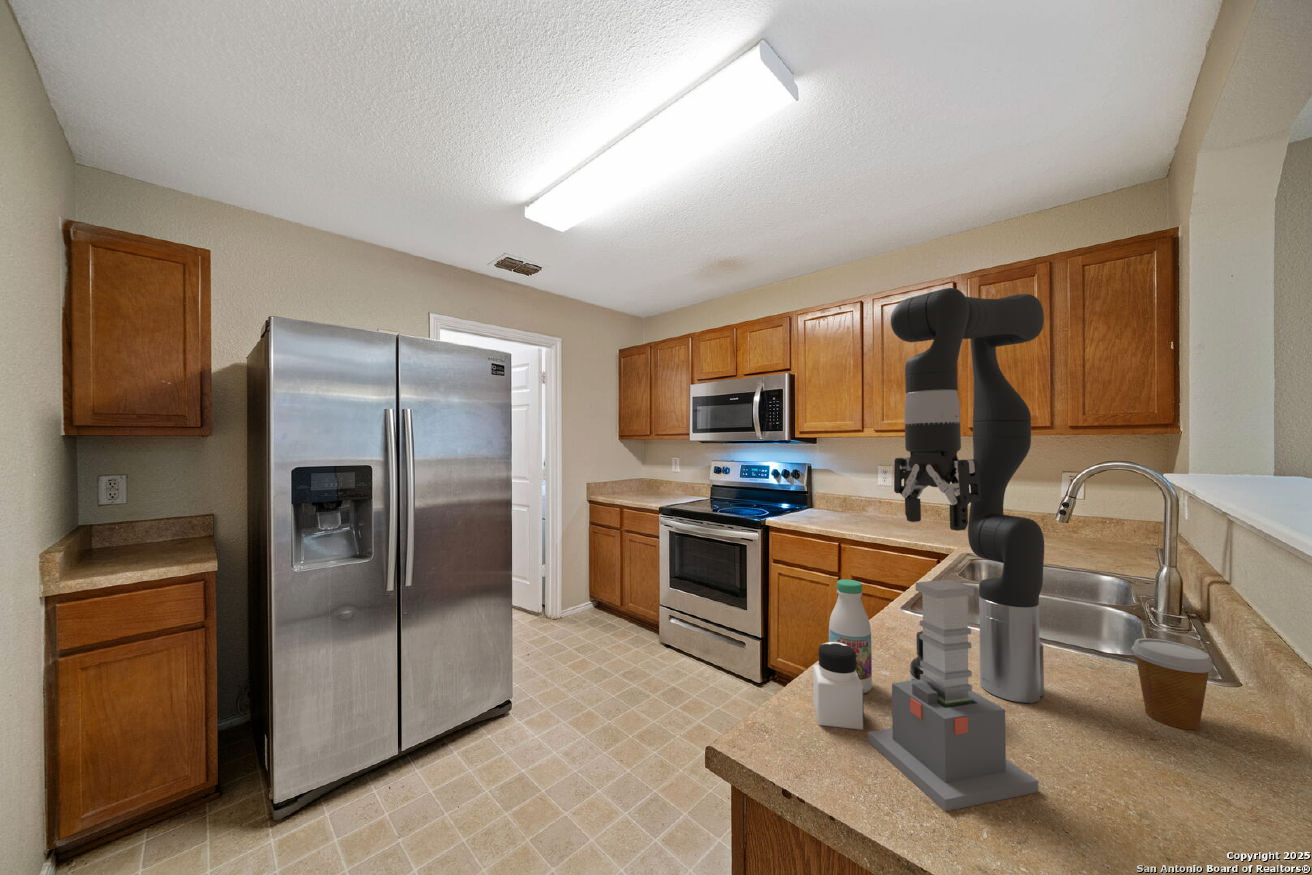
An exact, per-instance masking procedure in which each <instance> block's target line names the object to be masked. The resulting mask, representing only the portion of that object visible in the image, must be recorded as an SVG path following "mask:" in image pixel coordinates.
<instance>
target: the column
mask: <svg viewBox="0 0 1312 875" xmlns="http://www.w3.org/2000/svg"><path fill="white" fill-rule="evenodd" d="M915 591H916V592H918V593H922V594H921V595H922V619H921V620H919V626H920V627H922V631H923V634H920V639H921V640H923V661H920V666H922V667H923V674H920V679H921V680H923V684H925V685H926V686H928V687H929V688H931V689H933V690H934V691H936V692H937V693H938V704H940V705H941V706H943V707H944V708H949V707H956V706H962V705H969V704H972V699H970V698H969V693H968V691H973V685H972V684H970V683H969V678H970V677H972V676H973V674H972V673H973V672H972V670H970V669H969V649H972V643H971V642H969V635H972V628H971V627H969V626H968V621H969V620H968V618H969V616H968V615H969V614H968V613H969V612H968V597H973V596H975V586H971V585H968V584H965V583H963V582H959V581H956V580H953V579H944V580H943V579H942V580H929V581H918V582H916V581H915Z"/></svg>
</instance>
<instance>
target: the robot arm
mask: <svg viewBox="0 0 1312 875" xmlns="http://www.w3.org/2000/svg"><path fill="white" fill-rule="evenodd" d="M1044 314H1045V313H1044V309H1043V305H1042V303H1041V301H1040V299H1039V298H1038V297H1037V296H1035V295H1033V294H1029V293H1019V294H1013V295H1009V296H1004V297H1003V296H1002V297H999V298H982V297H973V296H966V295H965V294H964V293H963V291H961V290H959V289H958V288H955V287H946V288H943V289H939V290H935V291H931V292H927V293H923V294H919V295H915V296H910V297H908V298H905V299H903V300H901V301H899V302H898V303H897V305H896V306H895V307H894V308H893V310H892V313H891V314H890V326H891V327H890V328H891V330H892V332H893V333H894V334H895V336H896V337H897V338H898V339H899V340H902V341H903V342H907V343H918V342H919V343H920V342H925V341H932V343H931V346H929V348H928V349H926V350H925V351H923V352H920V353H918V354H916V355H913V356H911V357H909V358H908V359H907V360H906V363H905V366H904V377H905V378H904V379H905V380H904V383H905V384H904V385H905V387H904V388H905V400H904V401H905V402H904V412H903V413H904V438H905V439H904V443H905V445H904V448H905V450H906V452H909V453H910V454H909V455H910V456H909V457H896V458H895V459H894V466H893V467H894V470H893V471H894V472H893V473H894V476H893V477H894V478H893V484H894V485H893V491H894V493H896V494H900V495H902V498H904V513H905V517H906V521H907V522H909V523H914V522H915V523H916V522H917V523H918V522H920V521H921V520H922V516H921V515H922V512H921V511H922V508H921V505H922V504H921V503H922V502H921V498H919V497H920V496H921V495H922V492H924V489H926V488H928V487H932V488H938V489H939V491H940V492H941V493H944V495H945V496H946V497H947V500H948V501H949V503H950V504H949V506H948V507H949V529H951V531H966V529H967V539H968V545H969V547H970V549H971V551H972V553H974V555H976V556H977V557H979V558H981V559H984V560H988V561H993V562H996V563H1000V564H1003V565H1002V566H1003V567H1002V573H1001V576H999V577H991V578H990V577H989V578H985V579H983V580H980V582H979V584H978V596H979V597H978V601H979V602H978V609H979V615H978V616H979V682H980V683H979V684H980V686H981V688H982V689H984V690H985V692H988V693H989V694H991V695H994V696H996V697H999V698H1000V699H1004V700H1006V701H1007V700H1008V701H1012V702H1018V703H1026V704H1027V703H1029V704H1030V703H1036V702H1039V700H1040V699H1041V697H1042V696H1045V675H1044V674H1045V672H1044V671H1045V670H1044V669H1045V668H1044V667H1045V666H1044V665H1045V664H1044V663H1045V662H1044V661H1045V660H1044V645H1043V643H1042V642H1040V595H1041V591H1042V588H1043V584H1044V583H1043V582H1044V565H1045V564H1044V560H1045V539H1044V532H1043V531H1042V529H1041V527H1040V525H1039V524H1038V523H1037V522H1036V521H1035V520H1033V519H1031V518H1028V517H1021V516H1015V515H1008V514H1004V503H1005V502H1004V501H1005V494H1006V490H1007V487H1008V484H1009V483H1010V482H1011V479H1012V478H1013V476H1014V475H1015V473H1016V472H1017V470H1018V469H1019V468H1020V466H1021V465H1022V463H1023V461H1024V460H1025V459H1026V457H1027V455H1028V453H1029V451H1030V449H1031V445H1032V422H1031V420H1032V417H1031V410H1030V409H1029V406H1028V404H1027V403H1026V401H1025V400H1024V399H1023V397H1021V395H1020V394H1019V392H1017V391H1016V390H1015V388H1014V387H1013V386H1012V384H1010V382H1009V381H1008V379H1007V378H1006V377H1005V375H1004V373H1003V372H1002V370H1001V367H1000V365H999V361H998V358H997V357H998V356H997V347H1004V346H1011V345H1017V344H1024V343H1027V342H1030V341H1033V340H1035V339H1036V338H1037V337H1039V335H1040V334H1041V332H1042V331H1043V328H1044V323H1045V322H1044V321H1045V317H1044V316H1045V315H1044ZM963 340H970V351H971V361H972V362H971V363H972V372H973V373H972V375H973V407H972V408H973V410H972V411H973V412H972V443H973V444H972V448H973V459H959V458H958V452H959V451H961V449H962V439H961V438H962V437H961V436H962V435H961V406H960V400H959V394H958V371H957V368H958V366H957V365H958V360H959V356H960V351H961V346H962V343H963ZM902 484H903V485H902ZM969 504H970V505H969ZM968 506H969V508H968ZM968 509H969V510H968Z"/></svg>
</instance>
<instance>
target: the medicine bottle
mask: <svg viewBox="0 0 1312 875" xmlns="http://www.w3.org/2000/svg"><path fill="white" fill-rule="evenodd" d="M812 668H813V671H812V672H813V678H812V679H813V680H812V681H813V706H814V710H815V715H816V719H817V723H818V725H819V726H822V727H823V726H824V727H832V728H833V727H834V728H842V729H848V730H849V729H850V730H857V731H858V730H860V731H862V730H864V728H865V726H864V725H865V724H864V716H865V715H864V709H865V708H864V693H863V686H862V684H861V681H860V679H859V677H858V675H857V673H856V652H855V651H854V649H853V648H851V647H850V646H848V645H845V644H843V643H838V642H829V641H828V642H824V643H821V644H820V645H819V647H818V664H814V665H813V666H812Z"/></svg>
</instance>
